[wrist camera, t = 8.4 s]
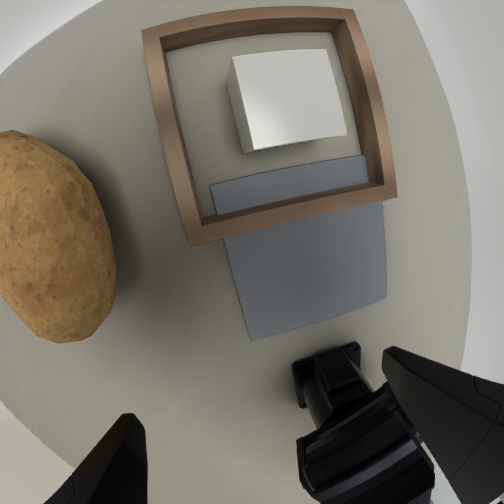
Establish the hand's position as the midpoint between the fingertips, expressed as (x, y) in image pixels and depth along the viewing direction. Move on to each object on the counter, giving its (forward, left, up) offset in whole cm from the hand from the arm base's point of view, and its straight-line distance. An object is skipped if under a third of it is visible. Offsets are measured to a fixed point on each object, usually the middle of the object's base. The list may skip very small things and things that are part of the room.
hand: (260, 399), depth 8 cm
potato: (+7, +11, -12) cm, 18 cm away
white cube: (+10, -5, -12) cm, 16 cm away
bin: (+10, -5, -12) cm, 16 cm away
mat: (0, -6, -12) cm, 13 cm away
